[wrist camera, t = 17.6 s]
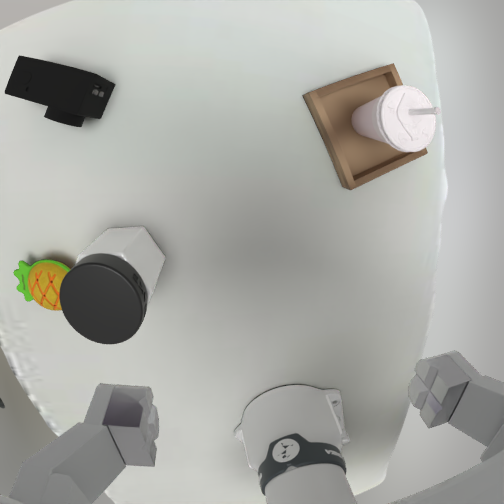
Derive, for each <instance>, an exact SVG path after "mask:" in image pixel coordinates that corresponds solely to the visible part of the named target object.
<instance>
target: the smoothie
mask: <svg viewBox="0 0 504 504" xmlns="http://www.w3.org/2000/svg"><path fill="white" fill-rule="evenodd" d="M440 113H441V110H440V108H438V107H436V108H433V106H432V104H431V102H430V101H429V99H428V98H427V97H426V95H425V94H424V93H423V92H421V91H420V90H419V89H417V88H415V87H412V86H408V85H401V86H395V87H391V88H390V89H388V90H387V91H385V92H384V94H383V95H382V96H380V97H378V98H376V99H374V100H372V101H370V102H368V103H366V104H364V105H362V106H360V107H358V108H357V109H356V110H355V111H354V112H353V114H352V119H351V120H352V126H353V128H354V130H355V131H356V132H357V133H358V134H360V135H362V136H365V137H368V138H371V139H375V140H378V141H381V142H384V143H387V144H390V145H391V146H392V147H393V148H395V149H397V150H398V151H402V152H417V151H420V150H422V149H424V148H425V147H427V146H428V145H429V143H430V142H431V141H432V139H433V137H434V134H435V130H436V116H435V114H440Z"/></svg>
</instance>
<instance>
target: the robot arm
mask: <svg viewBox="0 0 504 504" xmlns="http://www.w3.org/2000/svg"><path fill="white" fill-rule="evenodd" d="M415 372H416V375H415V376H414V377H413V378H412V379H411V381H410V384H409V387H408V392H409V398H410V401H411V403H412V404H413V406H414V407H416V408H418V409H420V410H421V411H420V416H421V418H422V419H423V421H424V422H425V423H426V425H427V427H428V428H432V427H434V426H437V425H441V424H444V423H446V422H448V423H449V424H451V425H452V426H454V427H455V428H457V429H459V430H460V431H462V432H464V433H465V434H467V435H468V436H470V437H472V438H473V439H475V440H477V441H479V442H480V443H482V444H483V445H485V446H487V448H486V449H485V451H484V452H483V454H482V455H481V458H480V459H481V461H482V463H480V464H478V465H476V466H474V467H472V468H470V469H469V470H467V471H465V472H463V473H461V474H459V475H457V476H455V477H453V478H450V479H448V480H446V481H444V482H442V483H440V484H437V485H435V486H433V487H431V488H428V489H426V490H423V491H421V492H418V493H416V494H413V495H410V496H408V497H405V498H402V499H400V500H397V501H394V502H391V503H388V504H504V382H501V381H499V380H496V379H493V378H491V377H488V376H482V375H480V374H479V372H478V371H477V370H476V369H475V368H474V367H473V366H472V365H471V364H470V363H469V362H468V361H467V360H466V359H465V358H464V357H463V356H462V355H461V354H460V353H459V352H457V351H452V352H448V353H445V354H441V355H438V356H433V357H430V358H426V359H421V360H420V361H419V362H418V363H417V364H416V367H415ZM152 402H153V393H152V390H151V388H150V387H145V386H129V385H111V384H102V383H100V384H99V385H98V386H97V388H96V390H95V393H94V396H93V398H92V401H91V403H90V406H89V409H88V412H87V414H86V417H85V420H84V423H77V424H76V425H75V426H73V427H72V428H70V429H69V430H68V431H66V432H65V433H63V434H62V435H61V436H59V437H58V438H57V439H55V440H54V441H52V442H51V443H49V444H48V445H47V446H45V447H44V448H42V449H41V450H40V451H38V452H37V453H35V454H34V455H32V456H31V457H30V458H28V459H27V460H25V461H24V462H23V463H22V465H21V467H20V470H19V472H18V475H17V478H16V480H15V483H14V485H13V488H12V491H11V493H10V497H6V496H4V495H1V494H0V504H92V503H93V502H94V501H95V500H96V499H97V498H98V497H99V496H100V495H101V494H102V493H103V491H104V490H105V489H106V488H107V487H108V486H109V485H110V484H111V483H112V482H113V480H114V479H115V478H116V477H117V476H118V475H119V474H120V473H121V472H122V470H123V469H124V468H125V467H126V465H133V466H152V467H154V466H155V458H156V450H157V448H156V446H155V443H154V440H155V439H157V438H158V433H159V418H158V412H157V408H156V407H155V406H154V405H153V404H152ZM234 435H235V438H236V439H237V440H239V441H240V442H242V443H243V444H244V448H245V452H246V457H247V461H248V465H249V467H250V468H252V469H253V470H255V471H257V472H258V475H259V485H260V487H261V490H262V493H263V494H264V495H265V496H266V501H267V504H357V502H356V500H355V498H354V495H353V493H352V490H351V488H350V485H349V483H348V480H347V478H346V467H345V461H344V458H343V457H342V445H345V444H348V443H349V442H350V440H349V436H348V434H347V432H346V431H345V426H344V417H343V408H342V399H341V394H340V391H339V390H336V389H326V390H321V389H317V388H314V387H311V386H305V385H289V386H283V387H279V388H276V389H273V390H270V391H268V392H265V393H264V394H262V395H260V396H258V397H257V398H256V399H254V400H253V401H252V402H251V403H250V404H249V405H248V406H247V408H246V409H245V411H244V414H243V418H242V422H241V424H240V425H239V426H238V427H237V428H236V430H235V431H234Z"/></svg>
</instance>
